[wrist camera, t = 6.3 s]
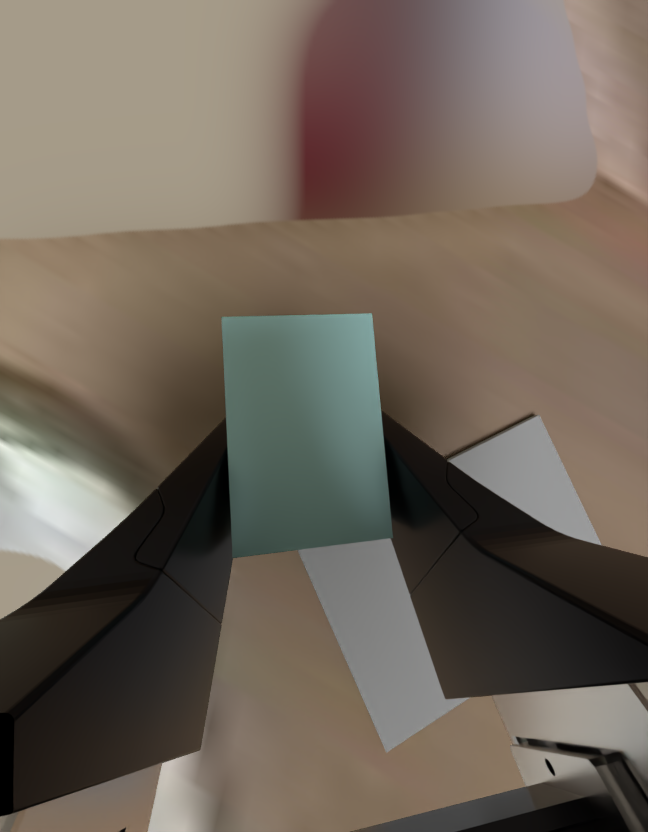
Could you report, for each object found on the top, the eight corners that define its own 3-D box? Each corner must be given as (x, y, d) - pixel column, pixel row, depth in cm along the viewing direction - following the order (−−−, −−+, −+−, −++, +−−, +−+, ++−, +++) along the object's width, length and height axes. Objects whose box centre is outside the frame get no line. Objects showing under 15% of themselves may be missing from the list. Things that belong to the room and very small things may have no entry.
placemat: (383, 743, 15) (386, 752, 14) (293, 536, 15) (292, 539, 15) (617, 591, 17) (625, 595, 16) (533, 415, 17) (539, 415, 17)
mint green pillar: (271, 485, 15) (232, 558, 6) (265, 386, 15) (221, 316, 6) (337, 479, 15) (392, 537, 6) (330, 383, 16) (371, 313, 7)
